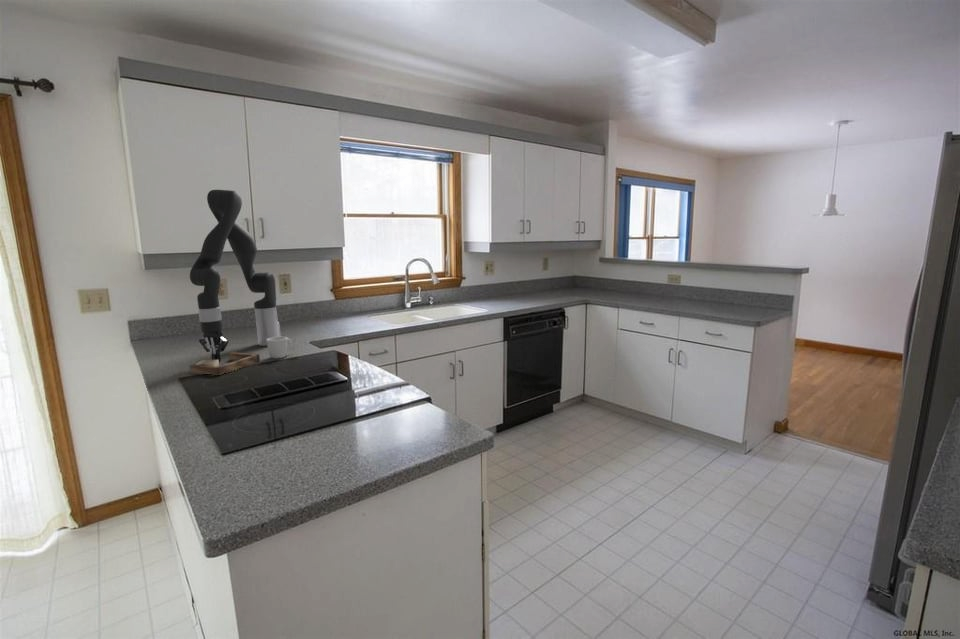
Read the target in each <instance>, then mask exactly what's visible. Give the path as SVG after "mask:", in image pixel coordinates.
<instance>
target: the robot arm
mask: <svg viewBox="0 0 960 639" xmlns="http://www.w3.org/2000/svg"><path fill="white" fill-rule="evenodd" d="M206 201H207V205H208V208H209V210H210V212H211V213H212V215H213V217H214V218H215V219H216V221H217V224H216V225H215V226H214V227H213V229H212V230H211V231H209V233H208V234H207V235H206V237H205V238H204V241H203V242H202V247H201V251H200V254H199V256H198V257H197V259H196V260H195V262H194V264H192V267H191V269H190V271H189V279H190V282H191V283H192V284H193V285H194V286H198V287H203V291H202V292H200V293H198V294H197V306H198V320H199V325H200V327H199V328H200V333H203V335H202V338H201V339H199V340H198V342H199V343H200V345H201V347H203V349H204V350H205V352H206V353H210V354H211V360H219V363H221V360H222V359H221V353H223V352H224V351H225V350H226V347H227V346H228V344H229V341H230V340H229V339H226V338H224V334H223V330H224V326H223V324H224V323H223V319H222V318H223V317H222V312H221V307H220V300H219V295H220V294H219V293H220V286H221V274H220V273H219V270H217V269H216V268H215V267H213V266H214V265H217V264H219V263H220V262H221V259H222V255H223V252H224V249H225V246H226V242H227V241H228V243H229V245H230V248H231V249H232V252H233V255H234V256H235V257H236V259H237V262H238V265H239V266H240V268H241V271H242V274H243V277H244V280H245V283H246V285H247V288H248V289H249V290H250V292H251V293H255V294H261V293H263V294H264V297H262V298H260V299H258V300H256V301H255V302H254V303H253V307H254V314H255V315H254V316H255V323H256V325H255V326H256V333H257V342H258V346H261V347H262V346H263V347H265V346H266V347H268V346H267V341H266V340H267V339H268V338H271V337H279V336H282V335H281V325H280V322H279V321H278V311H277V290H276V279H275V278H276V277H275V275H274V274H273V273H272V272H257V271H256V270H255V269H254V262H255V258H256V257H257V256H256V255H257V251H258V249H257V246H256V243H255V240H254V238H253V237H252V235H251V234H250V232H249V231H248V229H246V228H244V226H242V225H241V223H239V222H237V219H238V216H239V215H240V213H241V210H242V206H243V201H242V197H241V195H240V193H239V192H237V191H235V190H231V189H212V190H209V191H208V192H207V195H206Z"/></svg>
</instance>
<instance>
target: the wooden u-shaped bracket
mask: <svg viewBox="0 0 960 639" xmlns="http://www.w3.org/2000/svg"><path fill="white" fill-rule="evenodd" d="M228 358H229V361H232V362H229V363H226V364H223V365H219V367H216V366H204V365H196V364H190V365H189V373H190V375H191V374H194V375H203V374H216V375H221V374H224V373H227V374H229V373H228V372H230V373H232V372H235V371H238V370H240V369H239V368H241V369H243V367H244V368H246V367H248V366H251V365H254V364H257V363H259V362H261V358H260V354H259V353H247V352H246V353H245V352H234V351H233V352H229V353H228ZM237 369H238V370H237ZM234 370H235V371H234ZM231 371H232V372H231ZM224 375H225V374H224ZM221 376H222V375H221Z"/></svg>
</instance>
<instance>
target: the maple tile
mask: <svg viewBox="0 0 960 639" xmlns="http://www.w3.org/2000/svg"><path fill="white" fill-rule="evenodd" d="M195 365H204V366H216V367H220V362H219V360H212V359H203V360H202V359H201V360H200V361H199V362H197V363H196V364H195Z"/></svg>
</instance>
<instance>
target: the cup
mask: <svg viewBox="0 0 960 639" xmlns="http://www.w3.org/2000/svg"><path fill="white" fill-rule="evenodd" d="M266 341H267V346H266V347H267V349H268V354H269V357H270V358H271V359H283V358H285V357H286V356H287V355H288V350H291V348H292V346H293V341H292V339H291V338H288V337H286V336H282V335H281V336H279V337H271V338H268V339H267V340H266Z"/></svg>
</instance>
